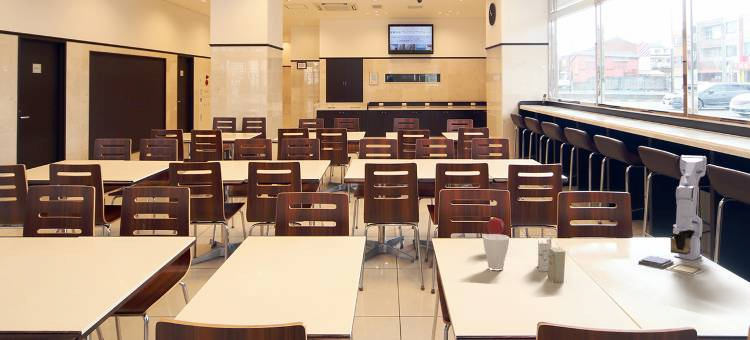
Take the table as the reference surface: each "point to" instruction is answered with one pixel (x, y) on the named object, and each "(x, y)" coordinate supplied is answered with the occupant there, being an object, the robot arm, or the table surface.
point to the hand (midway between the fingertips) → (682, 248)
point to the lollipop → (495, 226)
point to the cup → (496, 249)
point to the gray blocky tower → (543, 253)
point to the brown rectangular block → (684, 251)
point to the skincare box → (556, 264)
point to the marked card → (685, 269)
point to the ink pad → (656, 262)
